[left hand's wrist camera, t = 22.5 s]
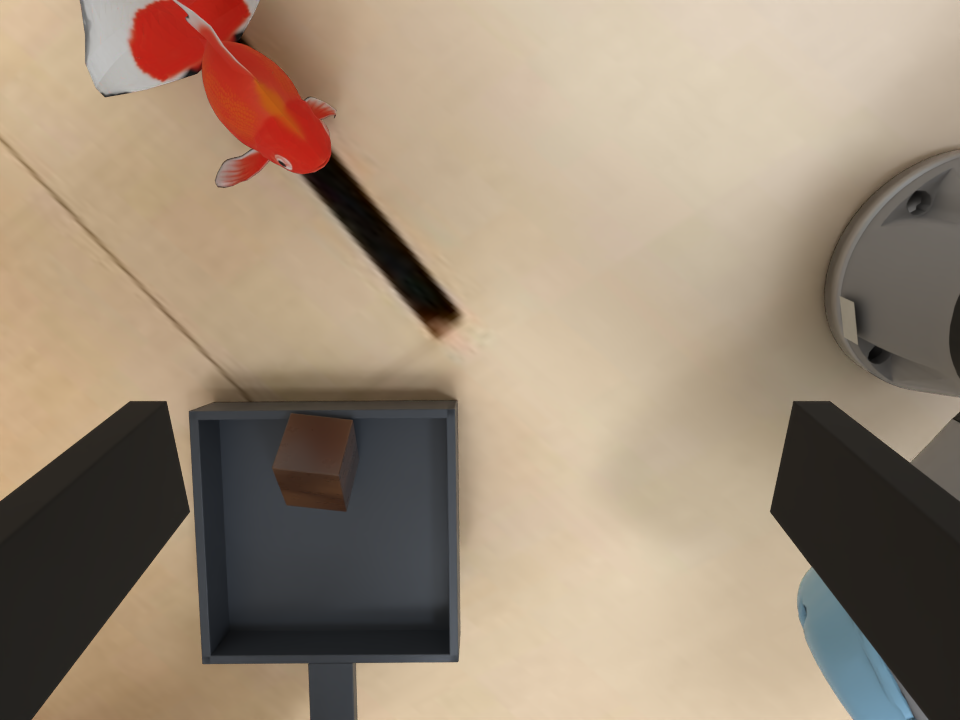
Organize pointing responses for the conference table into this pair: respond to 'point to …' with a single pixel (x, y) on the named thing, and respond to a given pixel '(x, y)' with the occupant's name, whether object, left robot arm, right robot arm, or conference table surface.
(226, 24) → the fish
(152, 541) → the left robot arm
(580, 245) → the conference table surface
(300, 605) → the pan
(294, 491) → the walnut block
